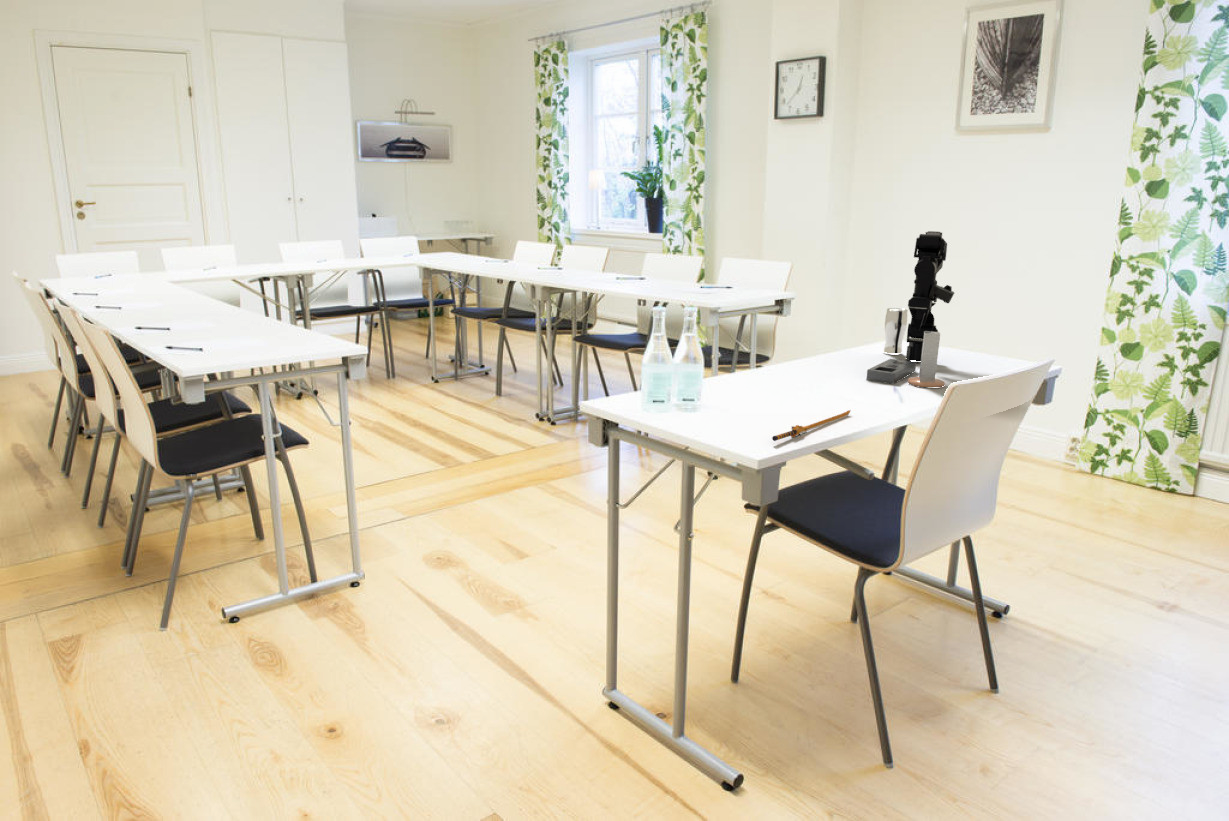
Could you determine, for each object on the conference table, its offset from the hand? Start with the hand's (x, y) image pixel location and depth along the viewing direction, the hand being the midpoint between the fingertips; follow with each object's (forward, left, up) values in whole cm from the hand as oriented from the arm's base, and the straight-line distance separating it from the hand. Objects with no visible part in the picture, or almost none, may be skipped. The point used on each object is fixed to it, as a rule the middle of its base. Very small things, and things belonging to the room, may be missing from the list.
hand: (919, 327), depth 262 cm
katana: (+51, +65, -13) cm, 84 cm away
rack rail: (+11, +9, -13) cm, 19 cm away
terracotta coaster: (+5, +20, -13) cm, 24 cm away
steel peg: (+5, +20, -12) cm, 24 cm away
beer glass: (-2, -24, -13) cm, 27 cm away
